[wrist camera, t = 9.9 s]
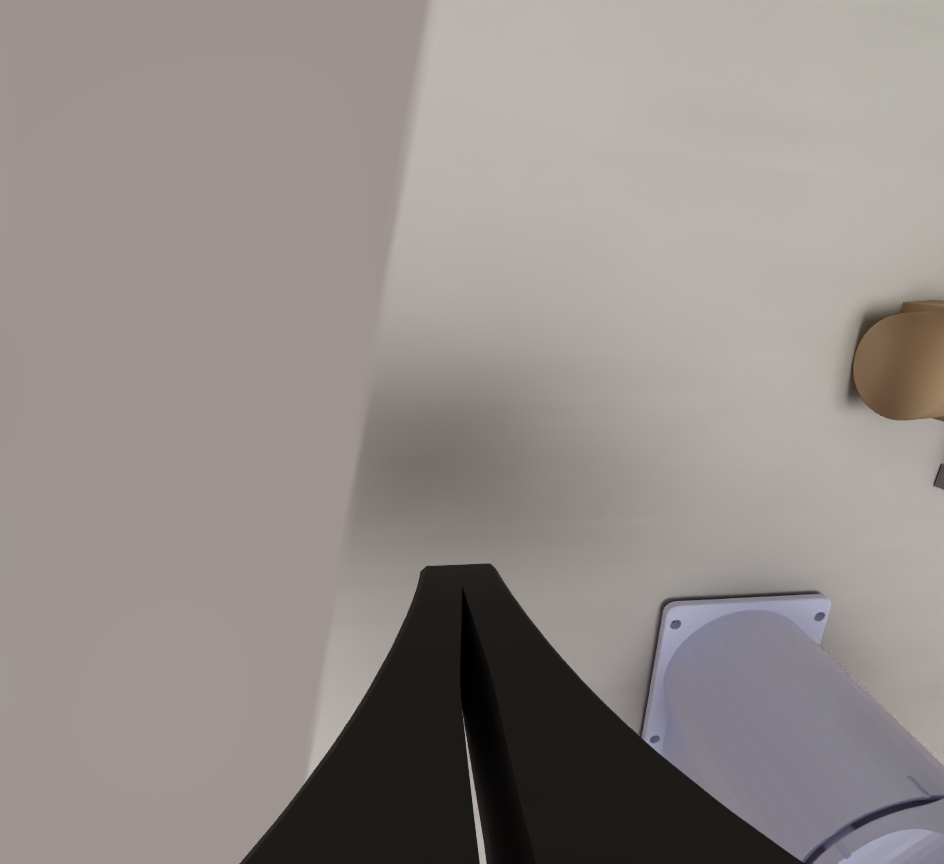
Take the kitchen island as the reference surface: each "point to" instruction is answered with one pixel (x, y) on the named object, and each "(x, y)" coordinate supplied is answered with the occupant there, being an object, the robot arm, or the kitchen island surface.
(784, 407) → the kitchen island surface
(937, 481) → the collar
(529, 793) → the robot arm
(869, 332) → the light wooden rod
